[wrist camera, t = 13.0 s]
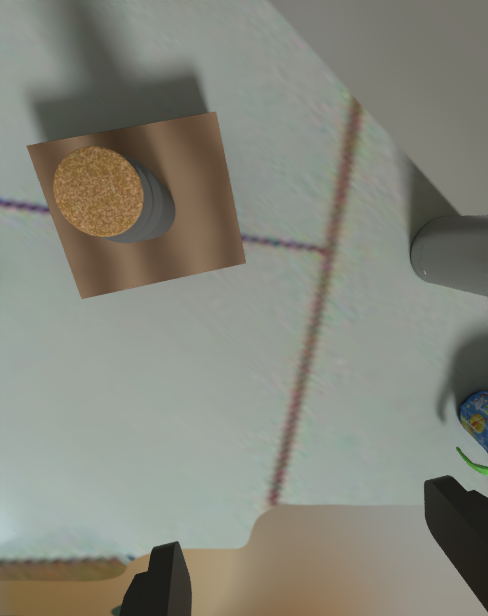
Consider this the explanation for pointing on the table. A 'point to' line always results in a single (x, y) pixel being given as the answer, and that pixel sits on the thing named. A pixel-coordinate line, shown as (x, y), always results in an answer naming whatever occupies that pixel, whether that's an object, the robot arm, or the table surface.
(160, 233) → the bottle
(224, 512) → the table surface
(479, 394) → the snack cup
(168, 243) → the wooden box
